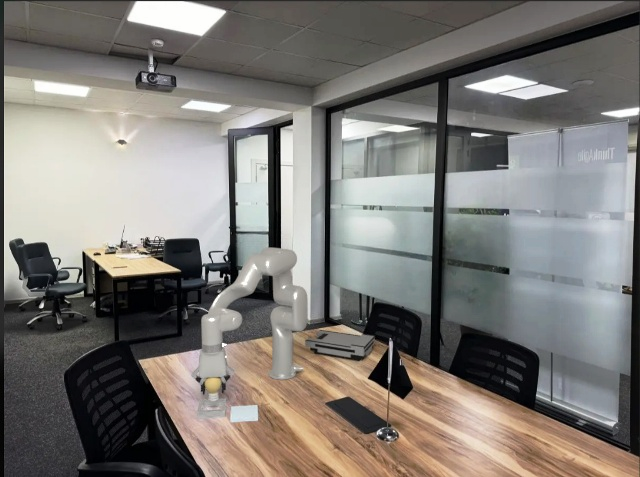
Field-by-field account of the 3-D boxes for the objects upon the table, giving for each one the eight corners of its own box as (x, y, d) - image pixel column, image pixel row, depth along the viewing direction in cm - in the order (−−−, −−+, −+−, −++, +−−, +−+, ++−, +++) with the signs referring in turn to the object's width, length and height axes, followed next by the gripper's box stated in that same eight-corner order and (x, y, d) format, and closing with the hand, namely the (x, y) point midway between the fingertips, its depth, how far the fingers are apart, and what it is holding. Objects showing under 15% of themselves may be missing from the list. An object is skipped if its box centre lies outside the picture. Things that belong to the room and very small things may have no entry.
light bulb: (217, 405, 157) (217, 379, 156) (201, 403, 159) (201, 377, 157) (225, 397, 164) (224, 372, 162) (209, 395, 165) (209, 370, 164)
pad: (257, 407, 165) (257, 404, 165) (258, 420, 155) (258, 418, 155) (231, 409, 163) (231, 406, 163) (230, 422, 153) (230, 419, 153)
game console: (320, 341, 244) (320, 327, 243) (374, 350, 231) (374, 335, 231) (305, 353, 224) (305, 338, 224) (363, 363, 212) (363, 347, 212)
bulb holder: (226, 404, 166) (226, 398, 166) (224, 417, 157) (224, 410, 157) (200, 405, 165) (200, 399, 165) (197, 418, 155) (197, 412, 155)
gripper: (236, 342, 164) (237, 386, 166) (189, 344, 161) (191, 389, 163) (235, 349, 156) (236, 395, 158) (186, 352, 154) (188, 399, 156)
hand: (213, 392), depth 161 cm, fingers closed on light bulb, 6 cm apart
